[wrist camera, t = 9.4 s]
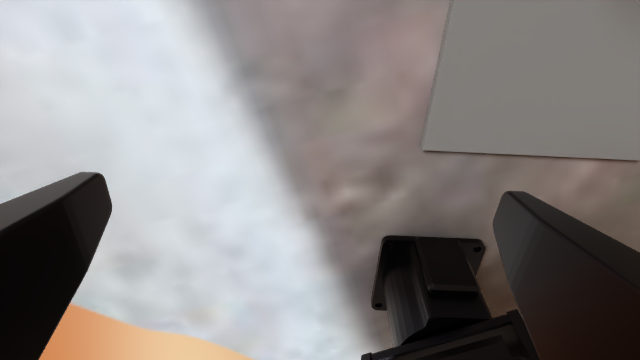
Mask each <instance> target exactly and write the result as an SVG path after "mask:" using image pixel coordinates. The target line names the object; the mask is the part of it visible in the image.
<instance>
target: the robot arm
mask: <svg viewBox="0 0 640 360" xmlns="http://www.w3.org/2000/svg"><path fill="white" fill-rule="evenodd" d="M111 212H112V202H111V199H110V195H109V191H108V188H107V184H106V181H105V178H104V176H103V175H102V174H100V173H96V172H80V173H77V174H75V175H72V176H70V177H67V178H65V179H62V180H60V181H57V182H55V183H52V184H50V185H47V186H45V187H42V188H40V189H37V190H35V191H32V192H30V193H27V194H25V195H22V196H20V197H17V198H15V199H12V200H10V201H7V202H5V203H2V204H0V360H39V358H40V356H41V354H42V353H43V350H44V349H45V347H46V345H47V344H48V342H49V340H50V338H51V336H52V335H53V333H54V331H55V329H56V327H57V326H58V324H59V322H60V320H61V318H62V316H63V315H64V313H65V311H66V309H67V307H68V306H69V304H70V302H71V300H72V298H73V297H74V295H75V293H76V291H77V289H78V287H79V286H80V284H81V282H82V280H83V278H84V276H85V274H86V272H87V271H88V268H89V266H90V264H91V262H92V259H93V257H94V254H95V252H96V250H97V247H98V245H99V242H100V240H101V237H102V235H103V232H104V230H105V228H106V225H107V223H108V220H109V218H110V215H111ZM493 230H494V234H495V238H496V241H497V245H498V248H499V252H500V255H501V259H502V262H503V266H504V269H505V273H506V276H507V279H508V282H509V285H510V288H511V291H512V293H513V296H514V298H515V301H516V303H517V306H518V308H519V310H520V313H521V315H522V317H521V315H520V313H519V312H518V310H517V309H516V310H512V311H509V312H507V314H505V315H502V316H499V317H495V318H492V316H491V313H490V311H489V309H488V306H487V304H486V302H485V300H484V297H483V295H482V293H481V291H480V286H479V283H478V281H477V279H476V277H475V276H476V273H477V271H478V268H479V265H480V262H481V260H482V257H483V254H484V251H485V246H484V244H483V242H482V241H481V240H479V239H461V238H437V237H413V236H386V237H384V238H383V239H382V241H381V247H380V252H379V258H378V264H377V269H376V275H375V281H374V287H373V292H372V298H371V304H372V308H373V309H375V310H386V311H387V313H388V319H389V324H390V330H391V336H392V342H393V348H390V349H387V350H383V351H380V352H377V353H373V354H372V353H367V354H364V355H362V357H361V360H640V253H639V252H638V251H636V250H634V249H632V248H630V247H628V246H626V245H624V244H622V243H621V242H619V241H617V240H615V239H613V238H611V237H609V236H607V235H605V234H604V233H602V232H600V231H598V230H596V229H594V228H592V227H590V226H588V225H587V224H585V223H583V222H581V221H579V220H577V219H575V218H573V217H572V216H570V215H568V214H566V213H564V212H562V211H560V210H558V209H556V208H555V207H553V206H551V205H549V204H547V203H545V202H543V201H541V200H539V199H538V198H536V197H534V196H532V195H530V194H528V193H526V192H523V191H506V192H505V193H504V194H503V195H502V197H501V200H500V203H499V206H498V208H497V211H496V214H495V217H494V220H493ZM388 243H392V244H390V245H388ZM477 246H478V247H477ZM475 247H477V248H475ZM522 318H523V319H522Z"/></svg>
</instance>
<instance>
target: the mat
mask: <svg viewBox="0 0 640 360" xmlns="http://www.w3.org/2000/svg"><path fill="white" fill-rule="evenodd" d="M420 147H421V149H422V150H430V151H451V152H472V153H493V154H514V155H536V156H557V157H578V158H599V159H620V160H640V0H450V4H449V9H448V14H447V19H446V24H445V28H444V33H443V38H442V43H441V48H440V52H439V57H438V62H437V67H436V72H435V77H434V81H433V86H432V91H431V96H430V101H429V105H428V110H427V115H426V120H425V125H424V129H423V134H422V139H421V144H420Z"/></svg>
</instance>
